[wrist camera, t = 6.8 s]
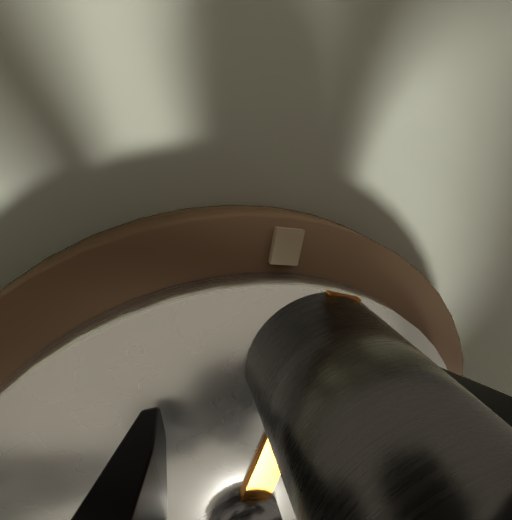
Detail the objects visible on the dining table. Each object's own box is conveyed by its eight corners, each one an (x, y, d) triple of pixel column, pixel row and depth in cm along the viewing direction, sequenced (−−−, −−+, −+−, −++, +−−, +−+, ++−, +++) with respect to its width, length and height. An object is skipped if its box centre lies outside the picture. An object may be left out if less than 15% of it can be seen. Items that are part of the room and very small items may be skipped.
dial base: (366, 548, 19) (384, 584, 18) (-42, 658, 13) (-68, 728, 12) (501, 234, 13) (547, 247, 11) (-173, 153, 7) (-272, 160, 5)
